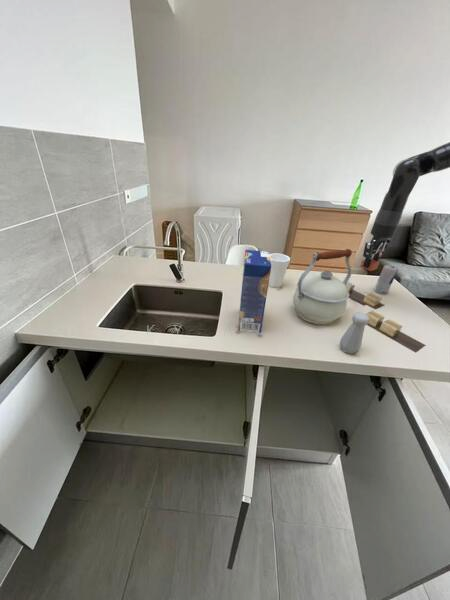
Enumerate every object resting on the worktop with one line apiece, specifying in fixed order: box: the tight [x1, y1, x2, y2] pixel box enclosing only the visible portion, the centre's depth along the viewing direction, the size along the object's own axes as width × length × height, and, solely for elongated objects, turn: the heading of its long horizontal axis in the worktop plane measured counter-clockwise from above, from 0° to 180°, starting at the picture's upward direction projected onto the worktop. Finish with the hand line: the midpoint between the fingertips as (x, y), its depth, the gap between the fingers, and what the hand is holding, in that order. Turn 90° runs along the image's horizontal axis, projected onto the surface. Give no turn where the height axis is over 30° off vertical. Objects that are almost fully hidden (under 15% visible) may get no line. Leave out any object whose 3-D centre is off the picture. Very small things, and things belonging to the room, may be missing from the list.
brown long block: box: [345, 281, 386, 311], centre depth 103 cm, size 7×20×4 cm, turn 32°
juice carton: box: [237, 249, 271, 334], centre depth 79 cm, size 12×8×24 cm, turn 175°
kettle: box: [292, 248, 354, 325], centre depth 86 cm, size 25×18×25 cm
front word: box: [365, 310, 427, 353], centre depth 83 cm, size 7×20×4 cm, turn 32°
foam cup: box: [268, 252, 291, 288], centre depth 108 cm, size 10×9×13 cm
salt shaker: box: [339, 311, 369, 355], centre depth 72 cm, size 6×6×13 cm
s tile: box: [360, 258, 381, 272], centre depth 96 cm, size 4×4×3 cm
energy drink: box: [374, 264, 399, 295], centre depth 107 cm, size 5×5×12 cm
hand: (369, 266), depth 96 cm, fingers closed on s tile, 4 cm apart
